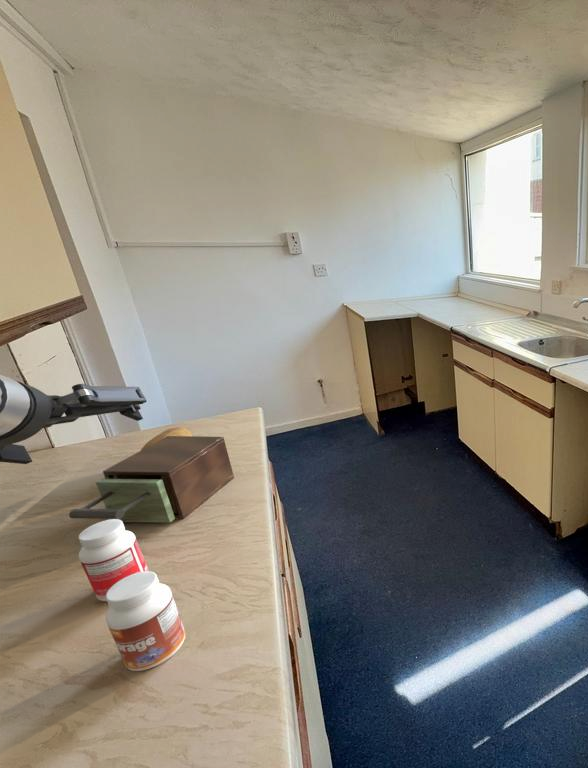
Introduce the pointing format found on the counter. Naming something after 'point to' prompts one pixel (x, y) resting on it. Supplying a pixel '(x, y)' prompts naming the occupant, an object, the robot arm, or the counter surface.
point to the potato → (166, 433)
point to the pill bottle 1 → (109, 555)
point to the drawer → (131, 500)
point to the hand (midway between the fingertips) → (83, 432)
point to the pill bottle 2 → (144, 621)
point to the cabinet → (182, 468)
